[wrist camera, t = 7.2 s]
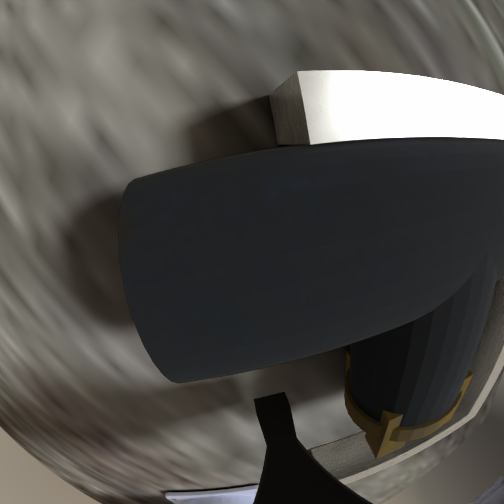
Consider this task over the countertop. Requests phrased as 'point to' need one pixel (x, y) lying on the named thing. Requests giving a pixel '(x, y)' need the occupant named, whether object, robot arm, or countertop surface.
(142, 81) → the countertop surface
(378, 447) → the pipe connector
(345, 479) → the aluminium bracket
